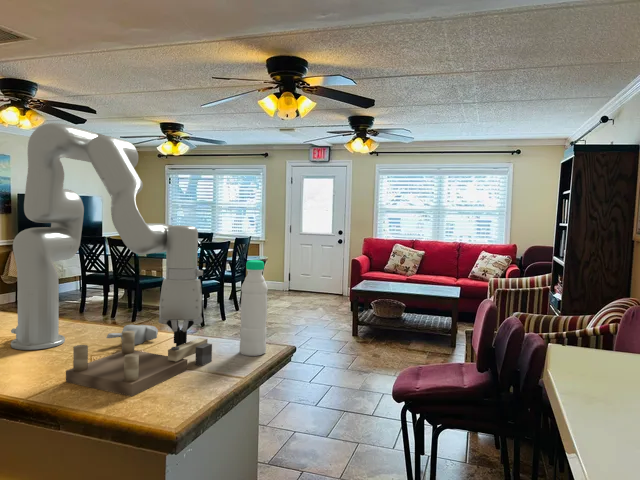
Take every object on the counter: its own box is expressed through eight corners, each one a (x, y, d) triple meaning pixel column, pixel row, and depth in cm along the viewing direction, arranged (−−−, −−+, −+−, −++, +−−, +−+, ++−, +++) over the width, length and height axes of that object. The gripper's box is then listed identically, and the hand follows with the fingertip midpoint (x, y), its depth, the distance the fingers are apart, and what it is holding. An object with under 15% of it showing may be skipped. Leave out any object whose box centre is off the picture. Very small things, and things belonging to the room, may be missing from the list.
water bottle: (261, 358, 123) (263, 262, 121) (235, 355, 124) (237, 261, 123) (269, 350, 130) (271, 260, 128) (245, 348, 131) (247, 258, 130)
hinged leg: (176, 361, 109) (176, 349, 109) (167, 359, 110) (168, 348, 110) (207, 348, 120) (207, 337, 120) (199, 347, 121) (199, 336, 121)
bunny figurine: (166, 324, 139) (132, 330, 124) (165, 342, 138) (131, 349, 124) (139, 321, 141) (103, 326, 127) (137, 338, 141) (101, 345, 127)
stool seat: (65, 381, 102) (66, 347, 101) (149, 350, 126) (150, 322, 125) (137, 397, 95) (137, 360, 94) (211, 361, 119) (212, 331, 118)
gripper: (213, 273, 123) (211, 342, 125) (153, 271, 121) (152, 342, 122) (210, 277, 116) (208, 350, 117) (147, 276, 114) (146, 350, 115)
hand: (180, 345), depth 120 cm, fingers closed
